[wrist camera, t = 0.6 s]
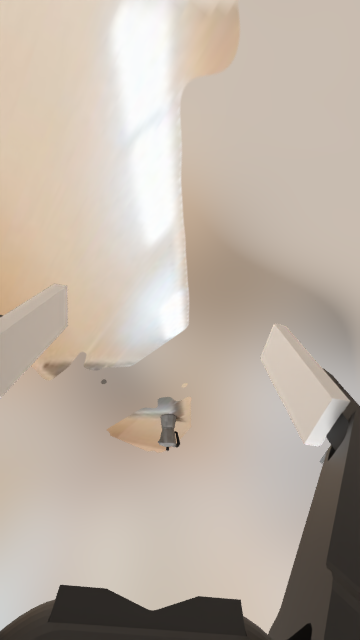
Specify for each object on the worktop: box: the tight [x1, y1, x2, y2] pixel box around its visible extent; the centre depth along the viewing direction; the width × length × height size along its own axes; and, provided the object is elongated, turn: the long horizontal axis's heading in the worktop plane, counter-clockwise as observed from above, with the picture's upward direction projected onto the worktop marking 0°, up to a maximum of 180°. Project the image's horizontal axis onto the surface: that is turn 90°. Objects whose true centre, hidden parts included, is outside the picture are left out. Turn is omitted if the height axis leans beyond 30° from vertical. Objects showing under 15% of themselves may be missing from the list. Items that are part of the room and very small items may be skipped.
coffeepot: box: [158, 414, 180, 450], centre depth 137 cm, size 15×9×18 cm, turn 49°
